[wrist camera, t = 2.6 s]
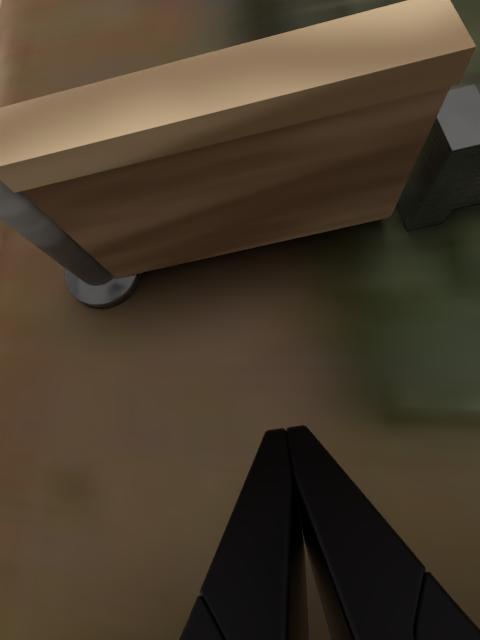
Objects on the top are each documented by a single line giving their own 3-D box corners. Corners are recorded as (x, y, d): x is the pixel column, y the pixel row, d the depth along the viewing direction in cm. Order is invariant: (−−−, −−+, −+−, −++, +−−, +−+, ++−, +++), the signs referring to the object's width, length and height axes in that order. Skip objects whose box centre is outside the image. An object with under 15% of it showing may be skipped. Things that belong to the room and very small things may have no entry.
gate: (392, 221, 19) (476, 46, 11) (79, 291, 21) (-75, 184, 12) (377, 182, 20) (444, -10, 11) (78, 251, 21) (-67, 125, 13)
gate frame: (639, 192, 19) (787, 88, 13) (73, 315, 21) (-6, 271, 16) (598, 129, 20) (716, 11, 15) (71, 250, 23) (-1, 188, 17)
